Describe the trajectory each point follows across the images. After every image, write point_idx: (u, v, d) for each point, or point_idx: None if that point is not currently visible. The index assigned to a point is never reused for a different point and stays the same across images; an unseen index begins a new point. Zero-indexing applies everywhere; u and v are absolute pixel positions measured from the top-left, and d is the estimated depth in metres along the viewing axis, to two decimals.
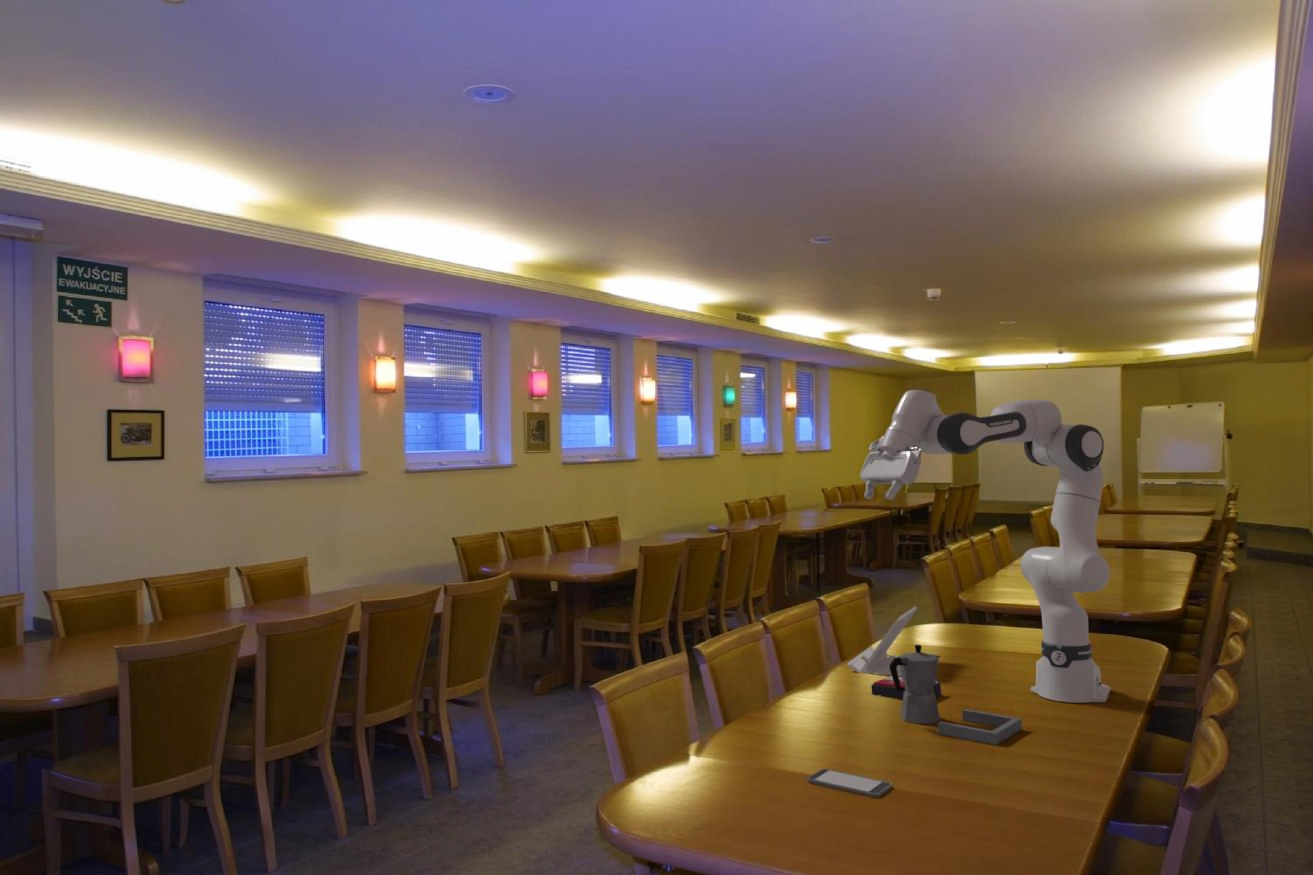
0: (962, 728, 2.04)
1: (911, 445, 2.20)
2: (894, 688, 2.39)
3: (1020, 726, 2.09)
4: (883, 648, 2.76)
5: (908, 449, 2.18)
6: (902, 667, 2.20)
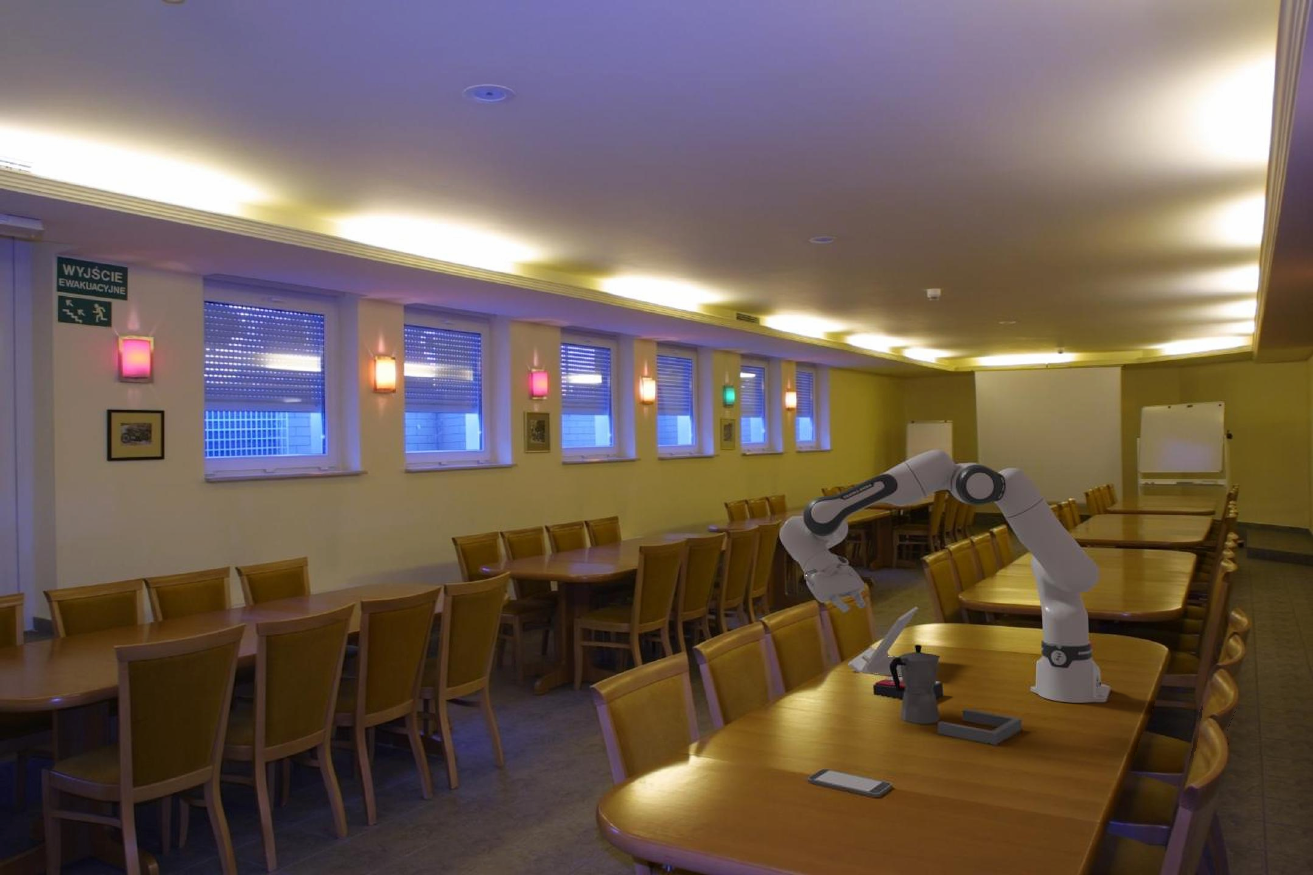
0: (962, 728, 2.04)
1: (812, 566, 2.39)
2: None
3: (1020, 726, 2.09)
4: (884, 648, 2.76)
5: None
6: (902, 667, 2.20)
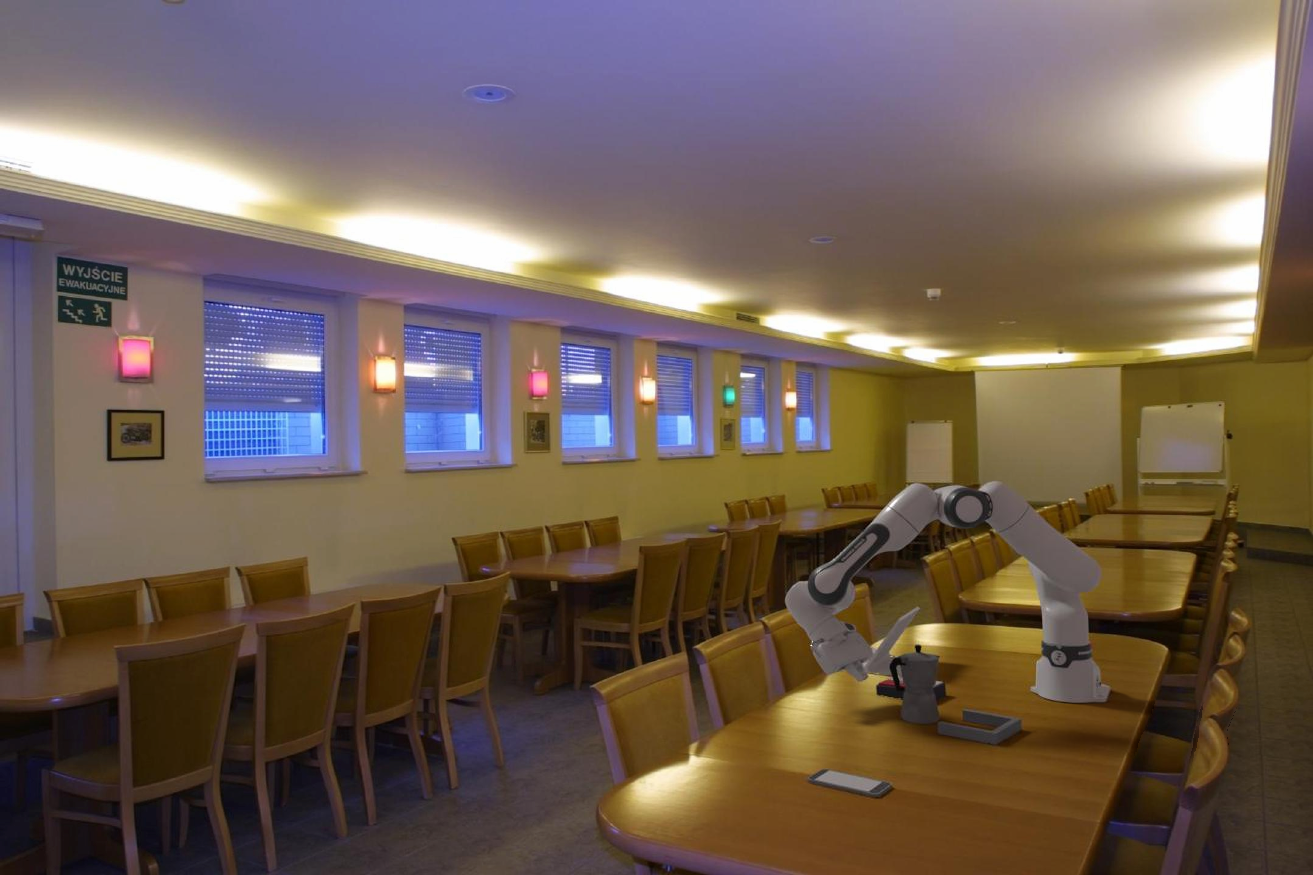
0: (962, 728, 2.04)
1: (819, 635, 2.33)
2: None
3: (1020, 726, 2.09)
4: (885, 648, 2.76)
5: None
6: (902, 667, 2.20)
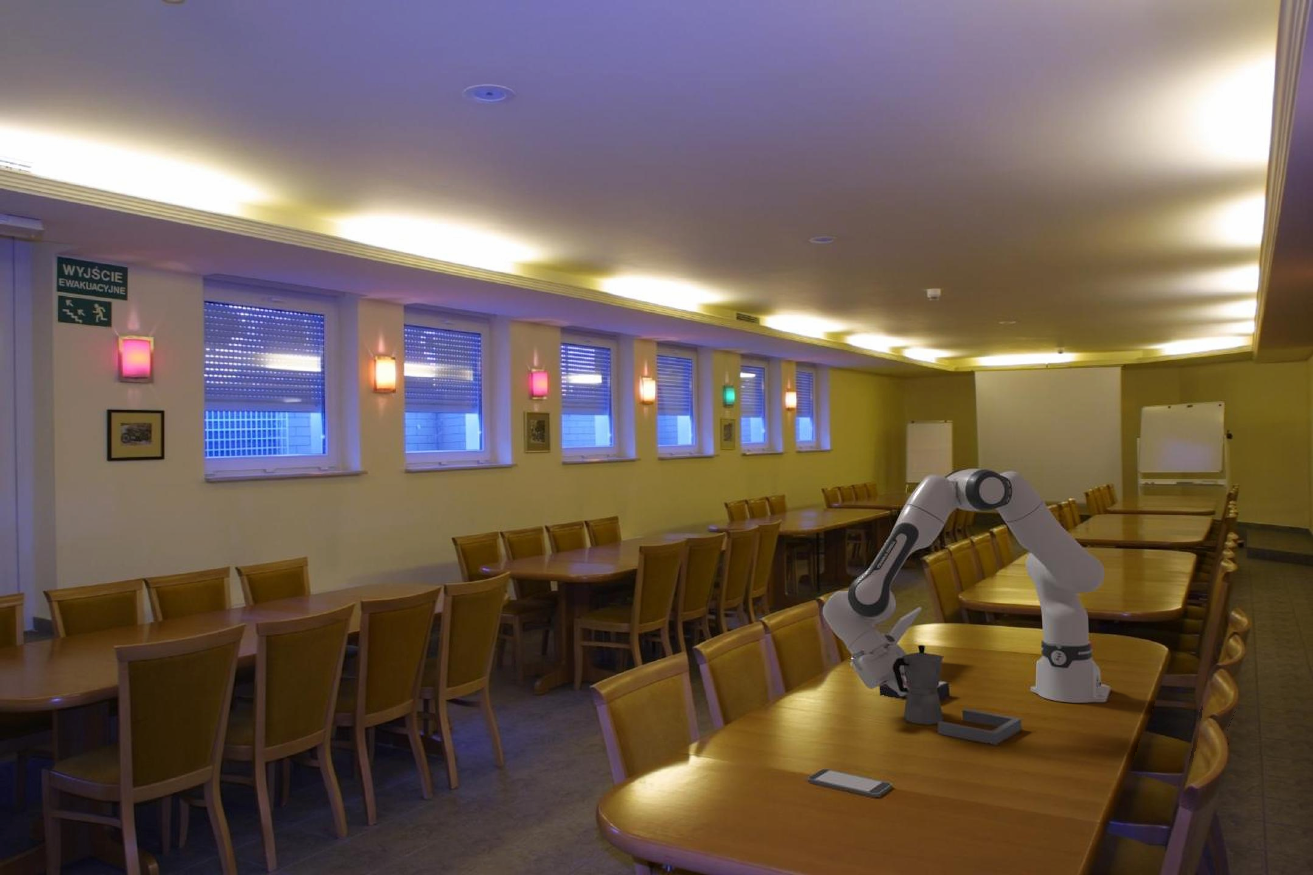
0: (962, 728, 2.04)
1: (859, 647, 2.25)
2: None
3: (1020, 726, 2.09)
4: None
5: None
6: (905, 667, 2.19)
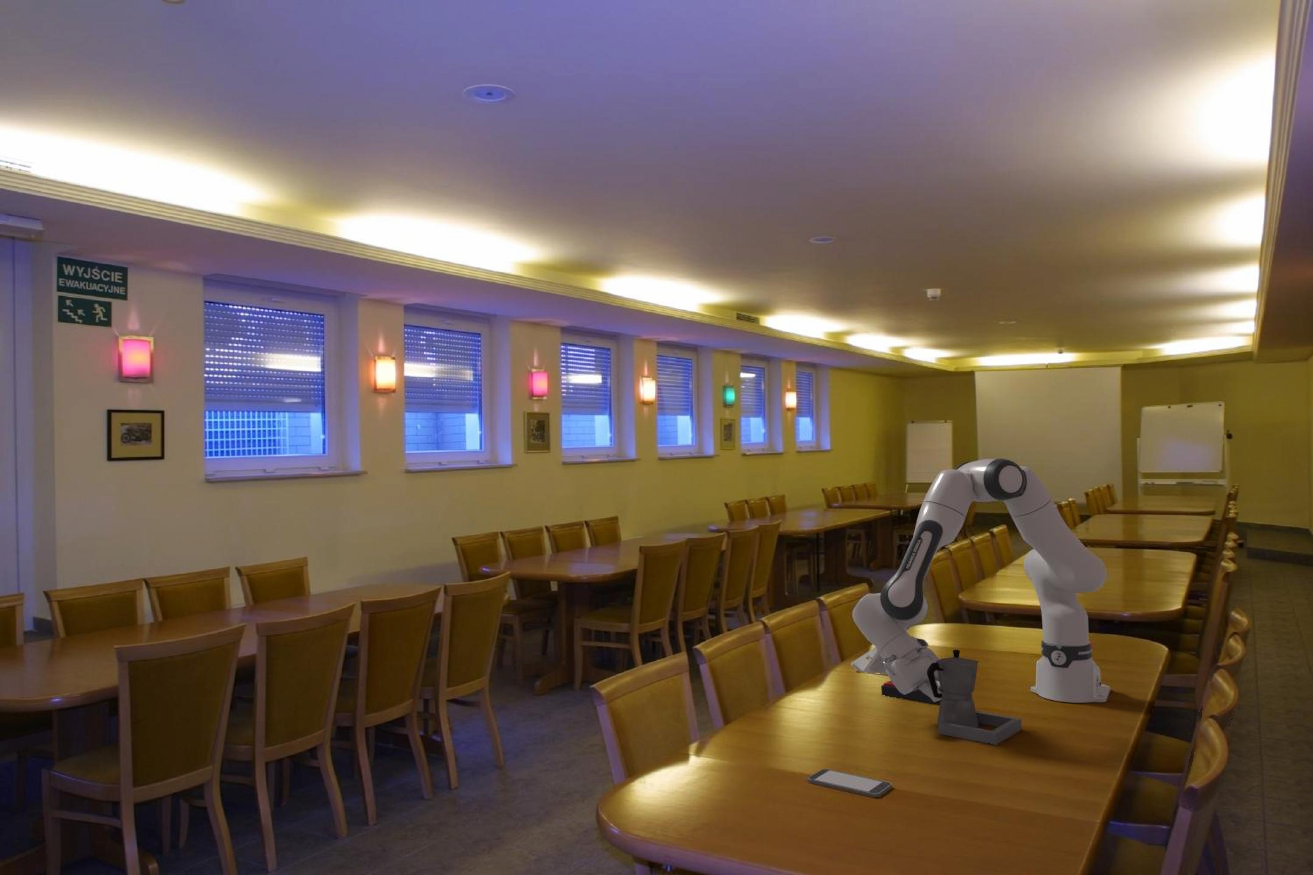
0: (962, 728, 2.04)
1: (891, 652, 2.19)
2: None
3: (1020, 726, 2.09)
4: None
5: None
6: (939, 672, 2.13)
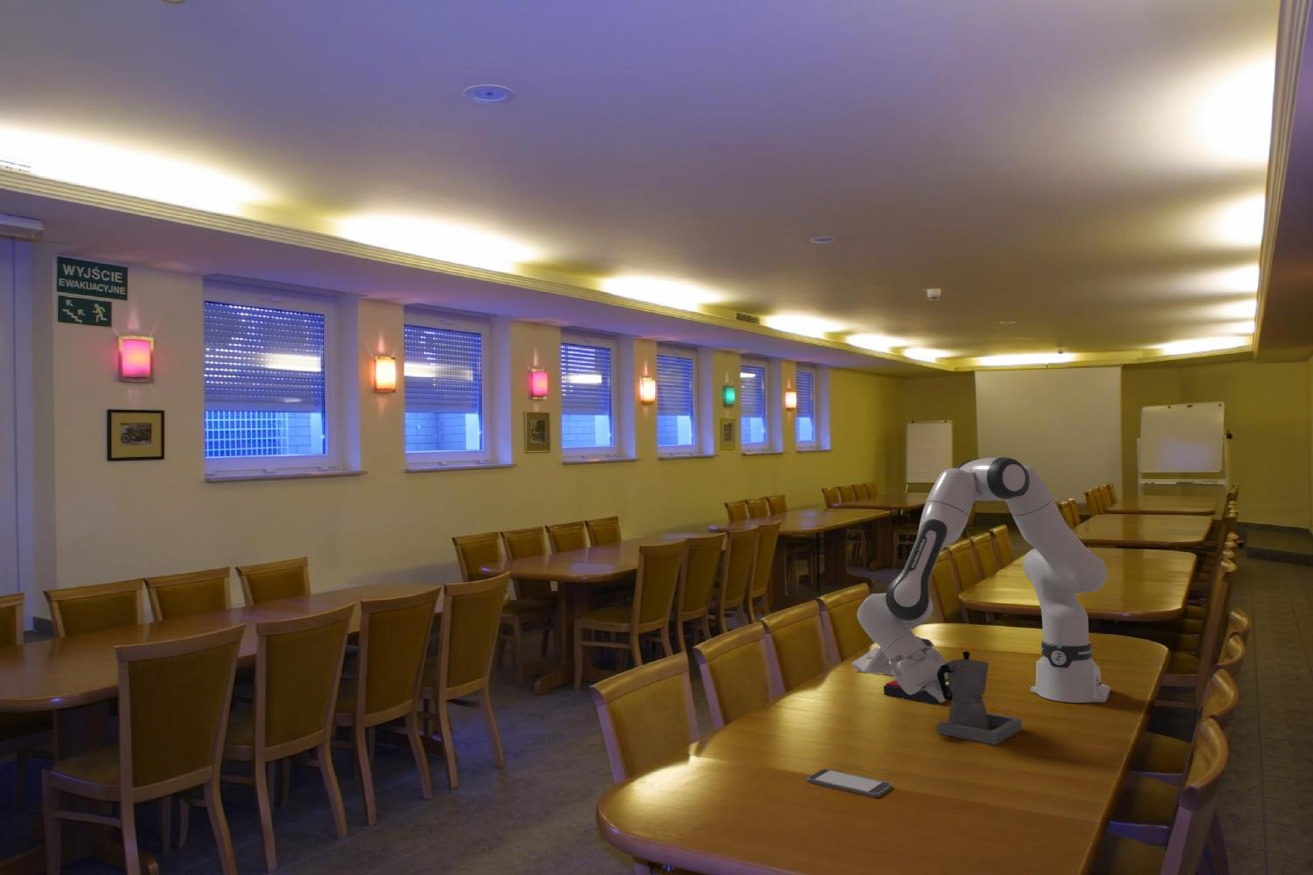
0: (962, 728, 2.04)
1: (897, 652, 2.18)
2: None
3: (1020, 726, 2.09)
4: None
5: None
6: (950, 674, 2.12)
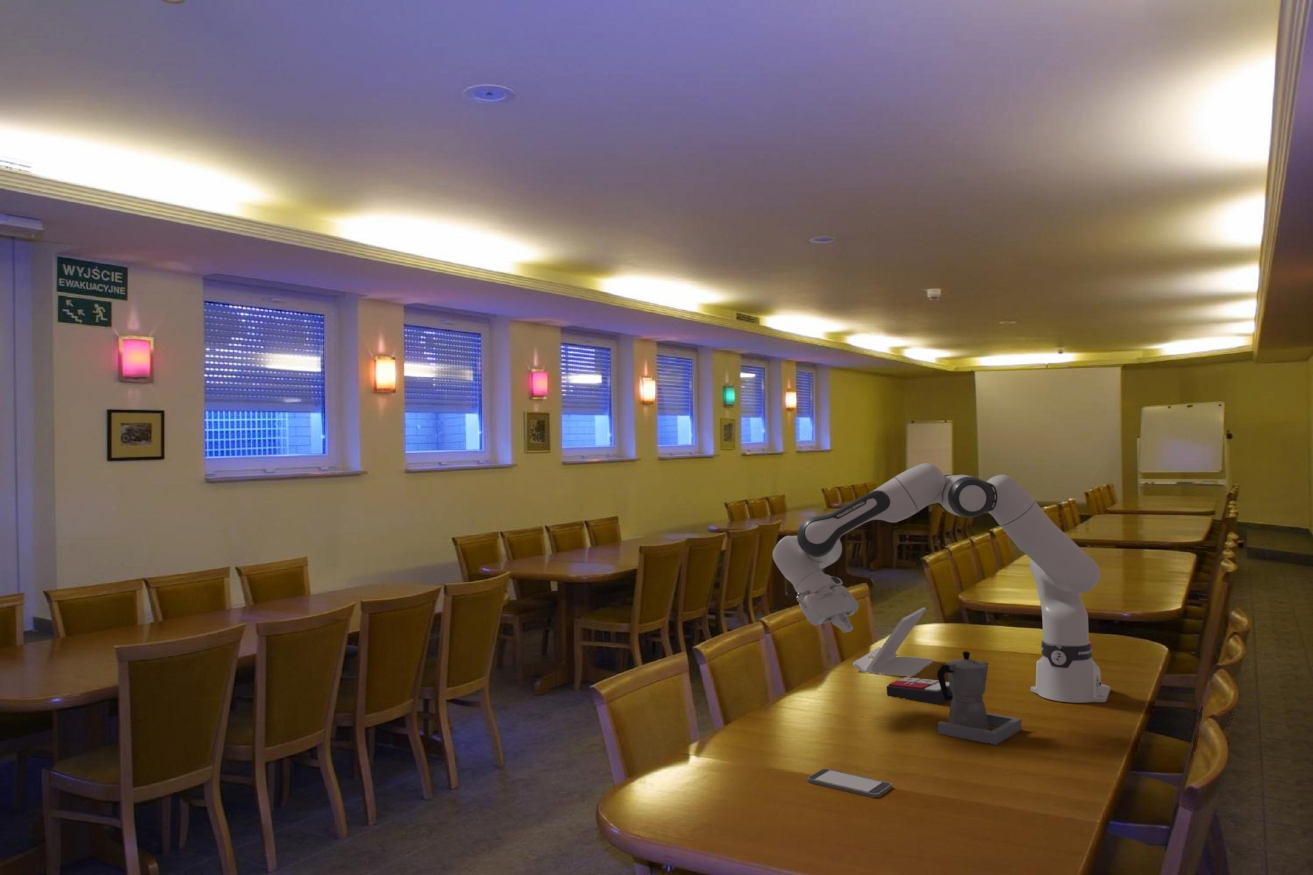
0: (962, 728, 2.04)
1: (806, 587, 2.36)
2: (910, 689, 2.38)
3: (1020, 726, 2.09)
4: (890, 648, 2.75)
5: None
6: (950, 674, 2.12)
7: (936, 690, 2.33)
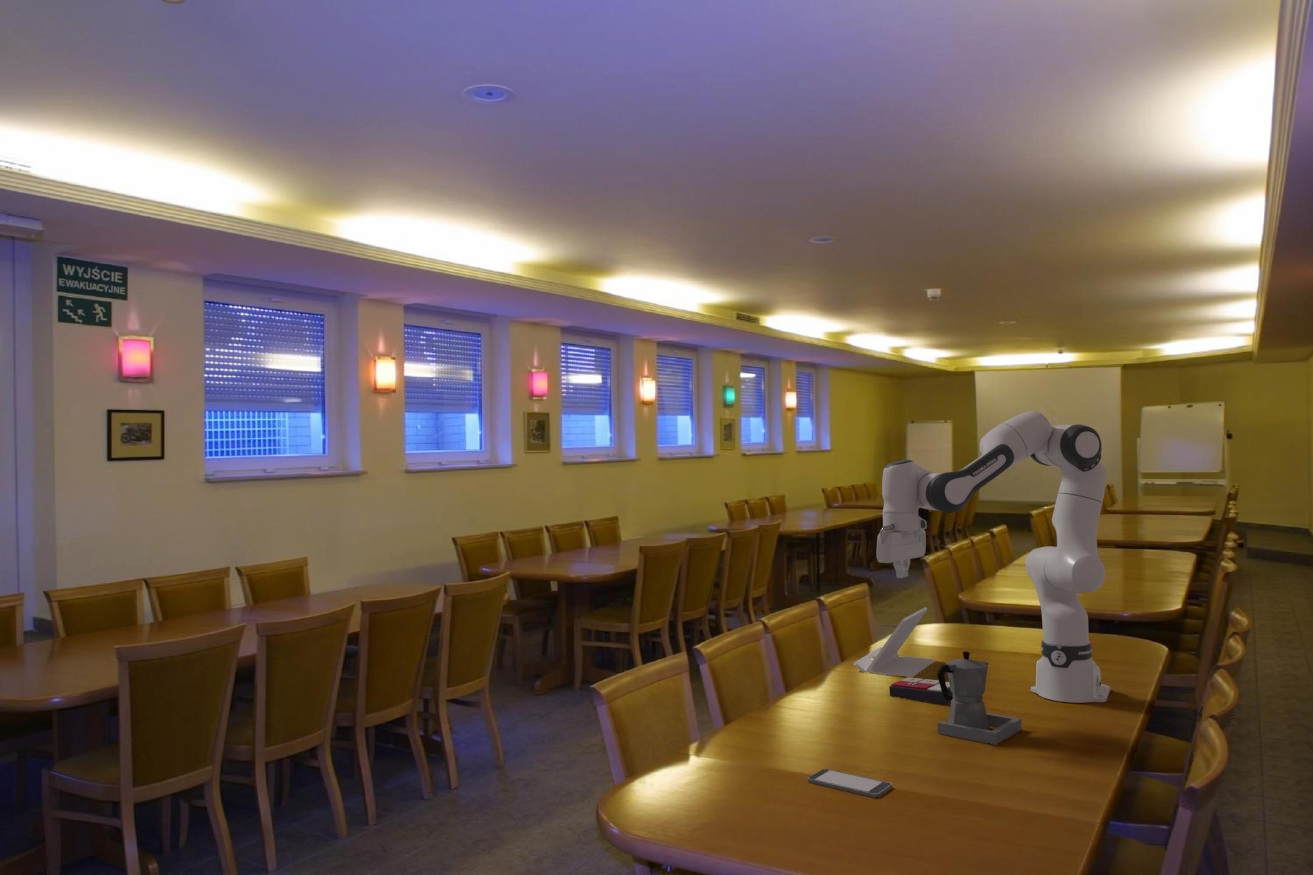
0: (962, 728, 2.04)
1: (894, 521, 2.28)
2: (913, 690, 2.37)
3: (1020, 726, 2.09)
4: (891, 648, 2.75)
5: None
6: (949, 674, 2.12)
7: (939, 690, 2.33)
